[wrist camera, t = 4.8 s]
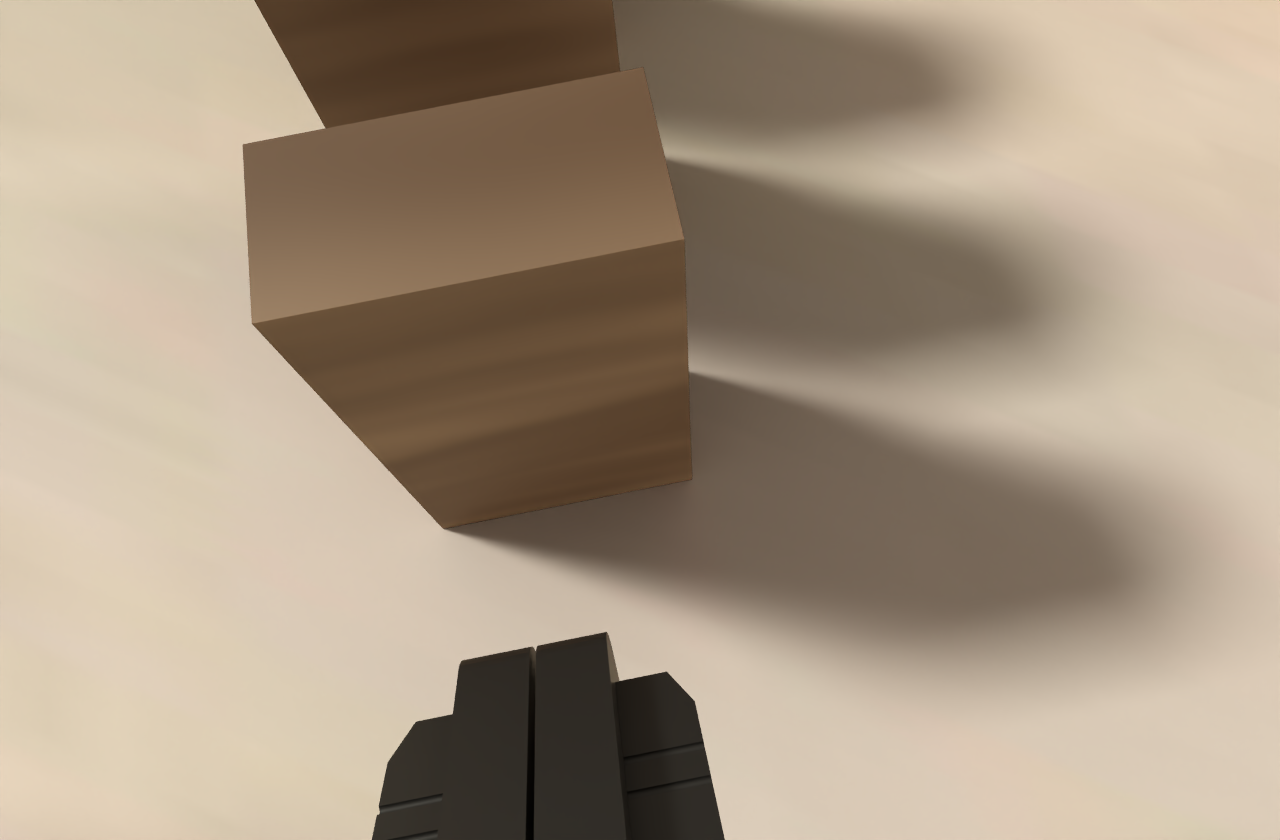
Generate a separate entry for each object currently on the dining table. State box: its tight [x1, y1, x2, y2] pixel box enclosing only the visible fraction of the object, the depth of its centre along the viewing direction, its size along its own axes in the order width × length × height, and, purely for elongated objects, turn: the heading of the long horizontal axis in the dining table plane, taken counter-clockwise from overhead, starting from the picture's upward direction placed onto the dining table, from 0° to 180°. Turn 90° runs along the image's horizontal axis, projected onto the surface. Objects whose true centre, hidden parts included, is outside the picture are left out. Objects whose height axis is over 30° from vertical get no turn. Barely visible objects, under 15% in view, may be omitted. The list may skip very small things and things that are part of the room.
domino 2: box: [243, 67, 692, 529], centre depth 16 cm, size 2×5×9 cm, turn 101°
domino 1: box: [255, 0, 620, 128], centre depth 18 cm, size 2×5×9 cm, turn 101°
